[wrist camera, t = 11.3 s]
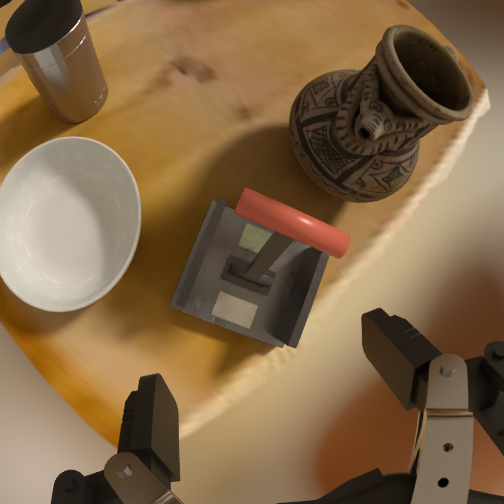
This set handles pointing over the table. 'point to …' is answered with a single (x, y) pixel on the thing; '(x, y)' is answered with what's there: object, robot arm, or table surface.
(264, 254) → the switch lever
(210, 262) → the switch box
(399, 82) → the decorative pitcher
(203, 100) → the table surface
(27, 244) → the serving bowl
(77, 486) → the robot arm
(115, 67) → the table surface
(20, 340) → the table surface
